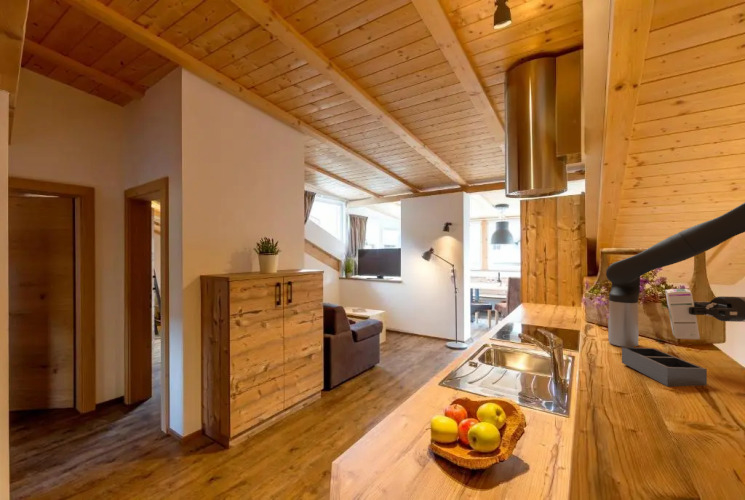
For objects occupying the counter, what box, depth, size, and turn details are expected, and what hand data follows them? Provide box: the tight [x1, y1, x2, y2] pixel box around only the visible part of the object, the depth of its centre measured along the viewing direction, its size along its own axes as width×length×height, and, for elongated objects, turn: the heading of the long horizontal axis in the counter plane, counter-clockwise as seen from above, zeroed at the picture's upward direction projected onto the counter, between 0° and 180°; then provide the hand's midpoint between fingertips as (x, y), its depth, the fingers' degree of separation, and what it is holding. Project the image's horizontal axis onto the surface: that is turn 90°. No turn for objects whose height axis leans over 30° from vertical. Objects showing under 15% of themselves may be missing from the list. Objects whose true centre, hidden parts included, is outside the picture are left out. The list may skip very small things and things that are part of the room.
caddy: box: [621, 346, 708, 387], centre depth 95 cm, size 18×10×5 cm, turn 174°
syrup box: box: [664, 288, 701, 340], centre depth 100 cm, size 6×6×14 cm
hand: (678, 308), depth 100 cm, fingers closed on syrup box, 7 cm apart
